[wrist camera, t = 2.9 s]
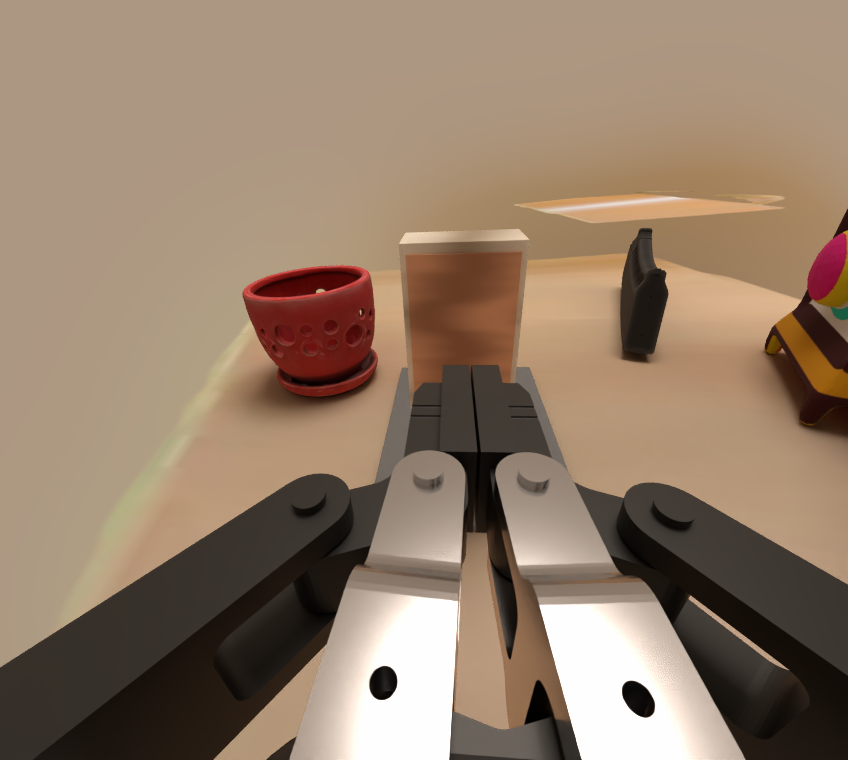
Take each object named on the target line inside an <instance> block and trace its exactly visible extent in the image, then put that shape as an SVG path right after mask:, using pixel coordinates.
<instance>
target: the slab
mask: <svg viewBox="0 0 848 760" xmlns="http://www.w3.org/2000/svg"><path fill="white" fill-rule="evenodd" d="M528 248H529V239H528V238H527V237H526V236H525V235H524V234H523V233H522V232H521V231H520V230H519V229H510V230H509V229H508V230H478V231H447V232H419V233H417V232H416V233H405V235H404V237H403V238H402V240H401V241H400V243H399V251H400V264H401V279H402V293H403V307H404V321H405V335H406V349H407V363H408V376H409V390H410V404H411V409H412V403H413V396H414V392H415V391H416V390H417V389H418V388H419V387H420V386H421V385H422V384H423V383H442V373H443V365H469V367H470V373H471V365H498V366H499V369H500V373H501V377H502V382H503V383H515V377H516V367H517V357H518V348H519V338H520V328H521V318H522V308H523V298H524V288H525V278H526V268H527V258H528V257H527V256H528Z"/></svg>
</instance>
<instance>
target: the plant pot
mask: <svg viewBox="0 0 848 760" xmlns="http://www.w3.org/2000/svg"><path fill="white" fill-rule="evenodd" d="M318 289H324V290H325V291H326V292H321V293H316V290H318ZM243 298H244V302H245V305H246V309H247V312H248V314H249V317H250V320H251V322H252V324H253V326H254V329H255V331H256V334H257V336H258V338H259V340H260V342H261V344H262V346H263V348H264V349H265V351H266V352H267V354H268V355H269V356H270V358H271V359H272V360H273V361H274V362H275V364H276V365H277V366H278V367H279V368H278V371H277V377H278V380H279V382H280V384H281V385H282V386H283V387H284V388H286V389H287V390H289V391H291V392H293V393H296V394H300V395H305V396H314V397H320V396H329V395H334V394H339V393H342V392H345V391H348V390H351V389H353V388H355V387H357V386H359V385H361V384H362V383H364V382H365V381H366V380H367V379H368V378H369V377H370V376H371V375H372V374H373V372H374V370H375V368H376V366H377V362H378V357H377V354H376V352H375V351H374V350H373V349H371V345H372V341H373V336H374V321H375V308H374V298H373V289H372V282H371V277H370V274H369V272H368V271H367V270H365V269H363V268H360V267H355V266H354V267H353V266H343V265H341V266H319V267H310V268H303V269H297V270H291V271H287V272H282V273H278V274H274V275H271V276H268V277H265V278H263V279H260V280H257V281H255V282H253V283H251V284H250V285H248V286H247V287H246V288H245V289H244V291H243ZM360 309H361V311H362V314H361V315H360V312H359V311H360Z"/></svg>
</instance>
